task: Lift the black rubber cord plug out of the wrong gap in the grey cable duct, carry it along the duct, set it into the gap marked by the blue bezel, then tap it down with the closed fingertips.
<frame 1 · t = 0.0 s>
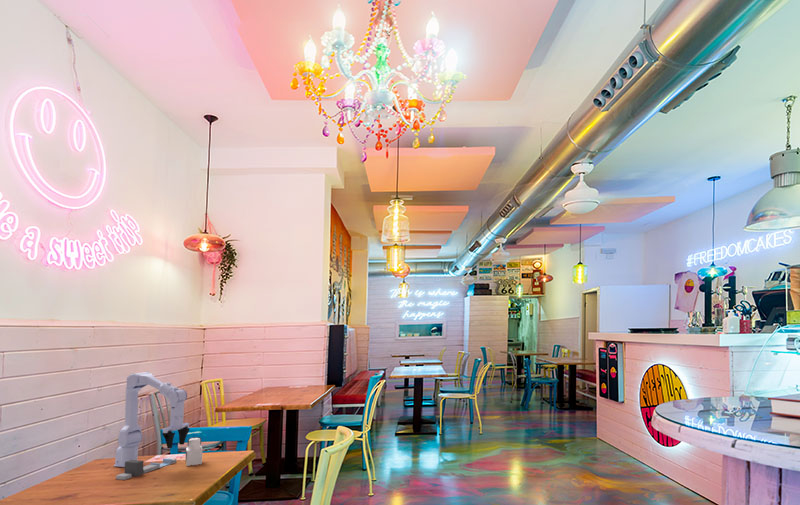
hand: (175, 446, 233), 10 cm above the table, fingers open, 7 cm apart
medicine bottle: (193, 464, 240), on the table
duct: (147, 470, 231), on the table
cord plug: (133, 475, 223), on the table
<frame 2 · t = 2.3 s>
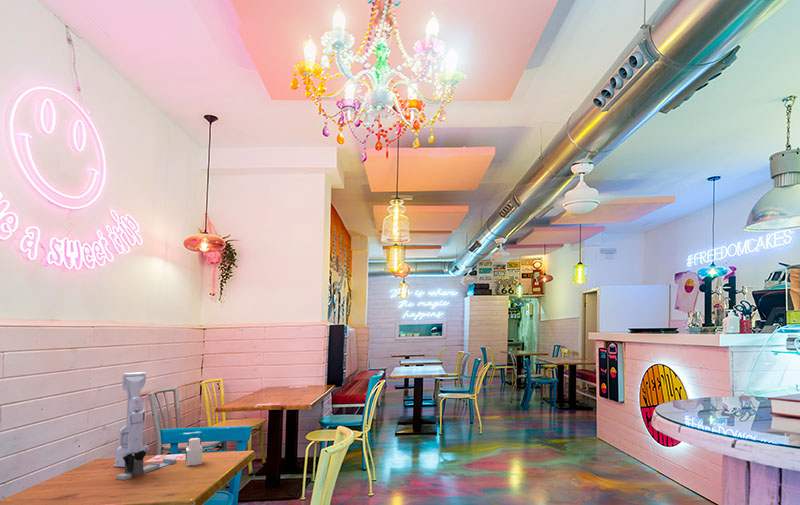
hand: (133, 470, 223), 2 cm above the table, fingers closed on cord plug, 4 cm apart
cord plug: (133, 475, 223), on the table, touching gripper
everything else where it was.
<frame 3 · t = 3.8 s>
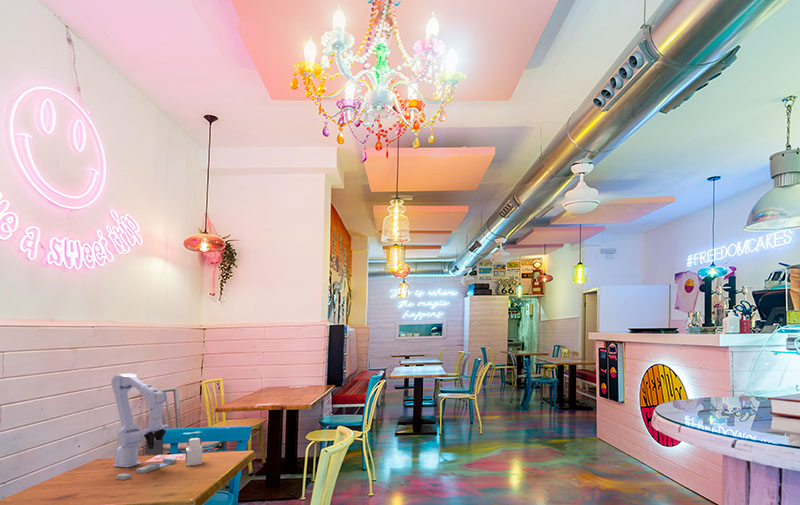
hand: (154, 447, 235), 9 cm above the table, fingers closed on cord plug, 4 cm apart
cord plug: (153, 453, 235), point 7 cm above the table, touching gripper
everything else where it was.
when the fingers open (3 cm above the table, at t = 5.6 s): cord plug stays where it is, resting on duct.
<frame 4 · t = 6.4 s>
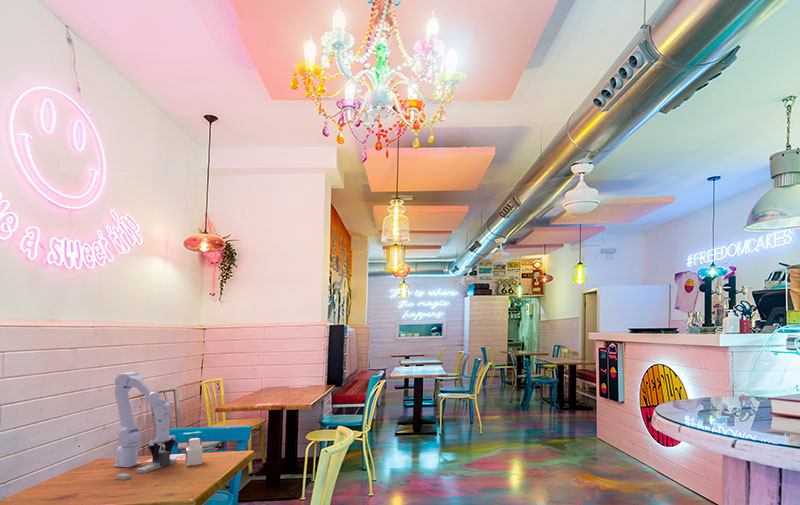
hand: (161, 458, 239), 3 cm above the table, fingers open, 7 cm apart
cord plug: (160, 465, 238), resting on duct
everything else where it was.
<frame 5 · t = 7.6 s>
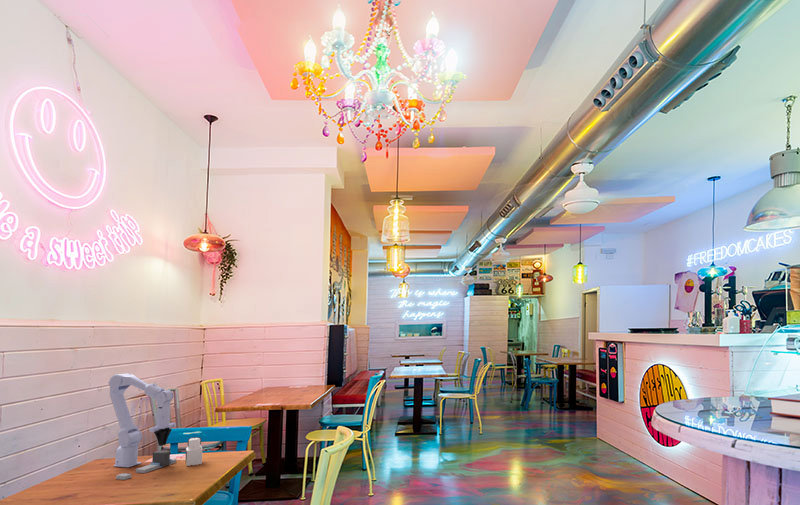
hand: (162, 445, 240), 9 cm above the table, fingers closed
nothing on the table moved.
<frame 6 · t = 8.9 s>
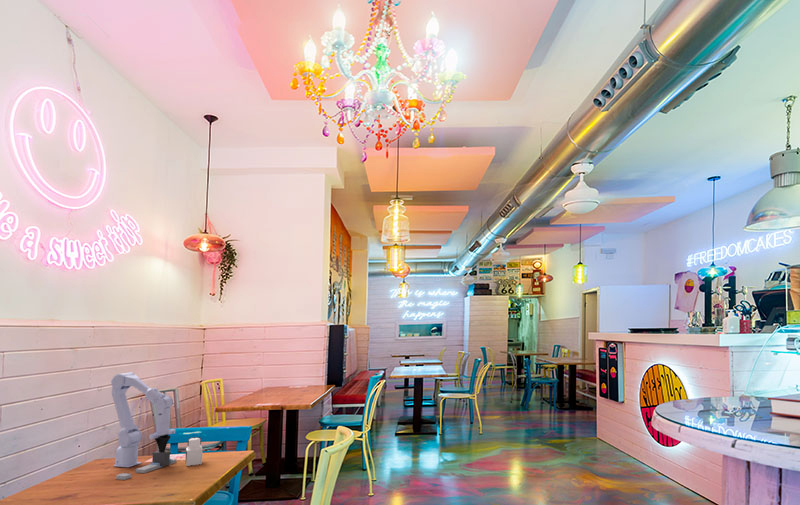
hand: (161, 451, 239), 6 cm above the table, fingers closed
nothing on the table moved.
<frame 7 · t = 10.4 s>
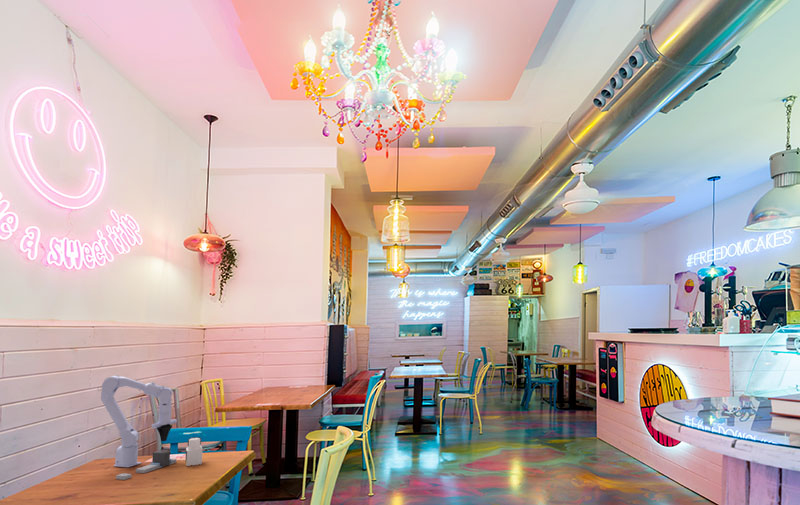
hand: (163, 440, 247), 10 cm above the table, fingers closed
nothing on the table moved.
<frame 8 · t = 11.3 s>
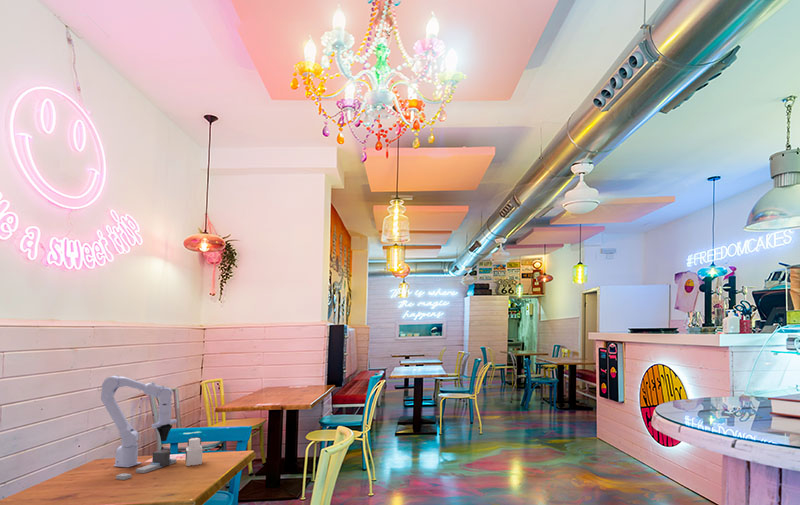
hand: (163, 440, 247), 10 cm above the table, fingers closed
nothing on the table moved.
at the end: cord plug 0.3 cm from the target spot on the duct, point 0.3 cm above the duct's base; cord plug tilted 0°; the gripper is holding nothing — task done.
